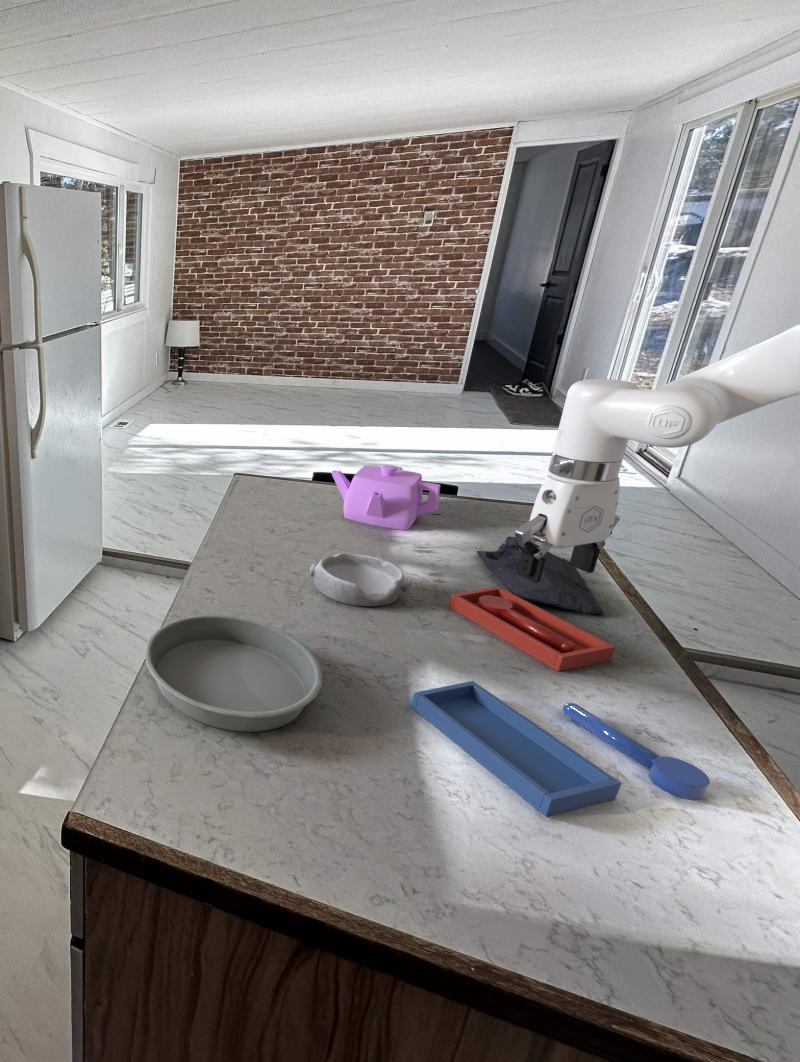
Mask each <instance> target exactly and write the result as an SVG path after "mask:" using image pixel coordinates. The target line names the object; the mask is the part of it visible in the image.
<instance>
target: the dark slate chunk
mask: <svg viewBox="0 0 800 1062" xmlns="http://www.w3.org/2000/svg"><path fill="white" fill-rule="evenodd" d="M516 542H517V540H516V536H511V535H509V536H507V537H506V539H505V541H504V542H503V543H502V544H501V545H500V546H498V549H497V550H495V551H489V550H488V551H487V550H477V551H476V554H477V556H478V557H479V558H480V559H481V560H482V562H483V564H484V565H485V566H486V567H487V569H488V570H489V571H490V573H492V574H493V575H495V577H496V578H497V579H498V580H499V581H500V583H501V584H502V585H503V586H504V587H505V588H506V589H507V591H508V592H510V593H512V594H514V595H516V596H518V597H520V598H522V599H524V600H525V601H527V602H530V603H532V602H533V603H535V604H536V603H538V604H542V605H549V606H554V607H556V608H561V609H564V610H570V611H574V612H578V613H581V614H582V613H583V614H590V615H604V614H605V612H604V610H603V608H602V607H601V606H600V605H599V604H598V601H597V599H596V597H594V595H593V593H592V591H591V589H590V587H589V586H588V585H587V583H586V580H584V578H583V577H582V575H581V573H580V572H579V571H578V568H575V567H573V566H571V565H570V560H568V559H566V558H561V557H559V556H558V555H556V554H554V553H552V552H550V551H549V550H548V551H547V552H546V554H545V555H544V556H543V557H542V558H545V559H546V560H545V564H544V568H543V572H542V576H541V580H540V582H537V583H534V582H532V581H530V580H528V579H526V578H523V577H521V576H519V575H518V574H517V570H518V566H519V562H520V558H521V553H522V552H520V551H519V547H518V546H517V545H516ZM534 545H535V546H536V547H537V549H538V548H539V547H540V546H541V545H539V544H536V543H535V544H534Z"/></svg>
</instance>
